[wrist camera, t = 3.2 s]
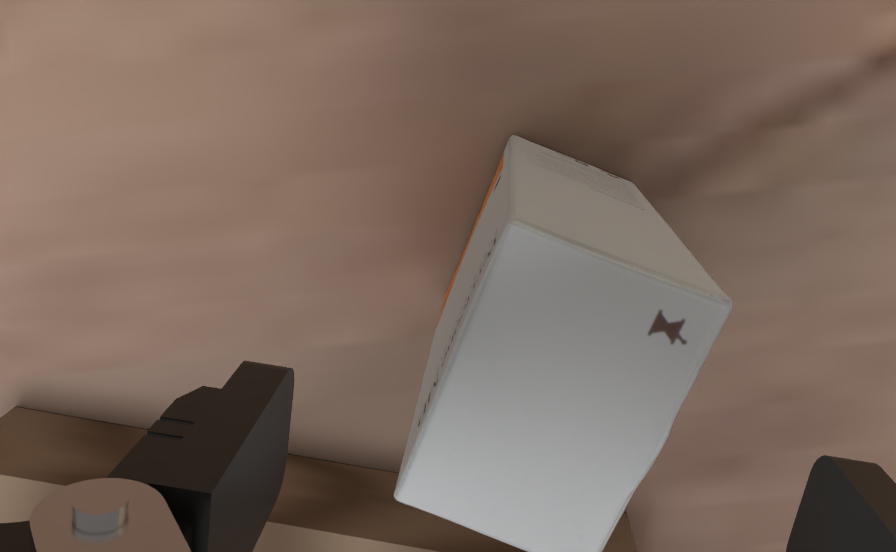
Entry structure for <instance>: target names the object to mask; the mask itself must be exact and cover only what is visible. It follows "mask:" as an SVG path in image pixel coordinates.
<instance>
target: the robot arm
mask: <svg viewBox="0 0 896 552" xmlns="http://www.w3.org/2000/svg"><path fill="white" fill-rule="evenodd" d="M293 390H294V371H293V369H292V368H287V367H281V366H275V365H269V364H263V363H256V362H250V361H243V362H242V364H241V365H240V366H239V367H238V369H237V370H236V371H235V372H234V374H233V375H232V376H231V378H230V379H229V380H228V381H227V383H226V384H225V385H224V386H223V388H222V389H219V388H212V387H206V386H202V387H200V388H198V389H196V390H194V391H192V392H190V393H188V394H185V395H183V396H181V397H179V398H177V399H176V400H175V401H174V402H173V403H172V404H171V405H170V406H169V408H168V409H167V410H166V411H165V412H164V413H163V414H162V415H161V417H160V420H157V421H156V422H155V423H154V424H153V425H152V427H151V428H150V429H149V430H148V431H147V435H144V436H143V437H142V438H141V439H140V440H139V441H138V442H137V443H136V445H135V446H134V447H133V448H132V449H131V450H130V451H129V452H128V454H127V455H126V456H125V457H124V458H123V459H122V460H121V461H120V463H119V464H118V465H117V466H116V467H115V468H114V469H113V470H112V472H111V473H110V474H109V475H108V476H107V477H106V478H98V479H91V480H85V481H81V482H77V483H73V484H70V485H67V486H65V487H62V488H60V489H58V490H56V491H54V492H52V493H51V494H49V495H47V496H46V497H45V498H44V499H42V500H41V501H40V502H39V503H38V504H37V505H36V507H35V508H34V510H33V512H32V513H31V517H30V520H29V521H22V522H12V523H0V552H252V551H253V549H254V547H255V545H256V543H257V541H258V539H259V537H260V535H261V533H262V530H263V528H264V526H265V524H266V522H267V520H268V518H269V516H270V514H271V512H272V509H273V507H274V505H275V503H276V501H277V498H278V496H279V493H280V489H281V486H282V482H283V477H284V472H285V467H286V460H287V450H288V440H289V430H290V420H291V410H292V400H293ZM786 552H896V484H895V483H894V481H893V480H892V479H891V478H890V477H889V476H888V475H887V474H886V472H885V471H884V470H883V469H882V468H881V467H880V466H879V465H877V464H875V463H869V462H863V461H857V460H850V459H844V458H838V457H832V456H826V455H825V456H821V457H820V458H818V459H817V460H816V462H815V463H814V465H813V467H812V469H811V472H810V475H809V478H808V481H807V484H806V488H805V491H804V494H803V497H802V500H801V503H800V506H799V509H798V512H797V516H796V519H795V522H794V525H793V528H792V531H791V534H790V537H789V541H788V544H787V549H786Z"/></svg>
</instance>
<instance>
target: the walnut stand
mask: <svg viewBox="0 0 896 552" xmlns="http://www.w3.org/2000/svg"><path fill="white" fill-rule="evenodd" d="M147 431H148V430H146V429H140V428H134V427H128V426H123V425H117V424H111V423H105V422H100V421H94V420H88V419H82V418H77V417H71V416H65V415H59V414H54V413H48V412H42V411H36V410H31V409H25V408H19V407H15V408H13V409H12V410H10V411H9V412H8V413H6V414H5V415H4V416H2V417H1V418H0V523H12V522H22V521H29V520H30V517H31V513H32V512H33V510H34V508H35V507H36V505H37V504H38V503H39V502H40V501H41V500H42V499H44V498H45V497H46V496H47V495H49V494H51V493H52V492H54V491H56V490H58V489H60V488H62V487H65V486H67V485H70V484H73V483H77V482H81V481H85V480H91V479H98V478H106V477H107V476H108V475H109V474H110V473H111V472H112V470H113V469H114V468H115V467H116V466H117V465H118V464H119V463H120V461H121V460H122V459H123V458H124V457H125V456H126V455H127V454H128V452H129V451H130V450H131V449H132V448H133V447H134V446H135V445H136V443H137V442H138V441H139V440H140V439H141V438H142V437H143V436H144V435H147ZM398 476H399V474H398V473H393V472H387V471H381V470H375V469H370V468H364V467H358V466H352V465H347V464H341V463H335V462H329V461H324V460H318V459H312V458H306V457H301V456H295V455H289V454H287V460H286V467H285V472H284V477H283V482H282V486H281V489H280V493H279V496H278V498H277V501H276V503H275V505H274V507H273V509H272V512H271V514H270V516H269V518H268V520H267V522H266V524H265V526H264V528H263V530H262V533H261V535H260V537H259V539H258V541H257V543H256V545H255V547H254V549H253V551H252V552H527V551H525V550H522V549H519V548H517V547H514V546H512V545H509V544H507V543H504V542H502V541H499V540H497V539H494V538H492V537H489V536H487V535H484V534H482V533H479V532H477V531H474V530H472V529H470V528H467V527H465V526H462V525H460V524H457V523H455V522H452V521H450V520H447V519H445V518H442V517H439V516H437V515H434V514H431V513H429V512H426V511H423V510H421V509H418V508H416V507H413V506H410V505H407V504H404V503H401V502H399V501H397V500H396V499H395V497H394V491H395V488H396V484H397V480H398ZM602 552H637V551H636V547H635V543H634V539H633V535H632V532H631V528H630V524H629V520H628V516H627V513H623V514H622V516H621V517H620V519H619V521H618V523H617V525H616V527H615V528H614V530H613V532H612V534H611V536H610V538H609V540H608V541H607V543H606V545H605V547H604V549H603V551H602Z"/></svg>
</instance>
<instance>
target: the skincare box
mask: <svg viewBox="0 0 896 552" xmlns="http://www.w3.org/2000/svg"><path fill="white" fill-rule="evenodd" d="M731 310H732V301H731V299H730V298H729V297H728V296H727V295H726V294H725V293H724V291H723V290H722V289H721V288H720V287H719V286H718V284H717V283H716V282H715V281H714V280H713V279H712V278H711V277H710V276H709V274H708V273H707V272H706V270H705V269H704V268H703V267H702V266H701V264H700V263H699V262H698V261H697V259H696V258H695V257H694V256H693V254H692V253H691V252H690V251H689V250H688V249H687V247H686V246H685V245H684V243H683V242H682V241H681V240H680V239H679V238H678V236H677V235H676V234H675V233H674V231H673V230H672V229H671V228H670V226H668V224H667V223H666V222H665V221H664V219H663V218H662V217H661V216H660V215H659V214H658V212H657V211H656V210H655V209H654V208H653V206H652V205H651V204H650V203H649V201H648V200H647V199H646V198H645V197H644V195H643V194H642V193H641V192H640V191H639V189H638V188H637V187H636V186H635V185H634V184H633V183H632V182H630V181H628V180H625V179H623V178H620V177H618V176H615V175H613V174H610V173H608V172H606V171H603V170H601V169H599V168H596V167H594V166H592V165H589V164H587V163H584V162H582V161H579V160H577V159H574V158H571V157H569V156H566V155H563V154H561V153H558V152H556V151H553V150H551V149H548V148H545V147H543V146H540V145H538V144H535V143H533V142H530V141H528V140H526V139H523V138H521V137H519V136H516V135H512V136H511V137H510V138H509V140H508V142H507V145H506V147H505V150H504V153H503V156H502V158H501V161H500V163H499V166H498V168H497V171H496V173H495V176H494V178H493V181H492V183H491V186H490V188H489V191H488V193H487V195H486V198H485V200H484V203H483V205H482V208H481V210H480V213H479V215H478V218H477V220H476V223H475V225H474V228H473V230H472V233H471V235H470V238H469V240H468V243H467V245H466V248H465V250H464V252H463V255H462V257H461V260H460V262H459V265H458V267H457V269H456V272H455V274H454V276H453V278H452V281H451V283H450V285H449V287H448V290H447V292H446V294H445V297H444V300H443V304H442V308H441V311H440V315H439V319H438V323H437V327H436V331H435V334H434V338H433V342H432V346H431V350H430V354H429V358H428V362H427V366H426V369H425V373H424V377H423V381H422V385H421V389H420V393H419V397H418V401H417V405H416V408H415V412H414V416H413V420H412V424H411V428H410V432H409V436H408V440H407V444H406V448H405V452H404V456H403V460H402V464H401V467H400V472H399V476H398V480H397V484H396V488H395V491H394V497H395V499H396V500H397V501H399V502H401V503H404V504H407V505H410V506H413V507H416V508H418V509H421V510H423V511H426V512H429V513H431V514H434V515H437V516H439V517H442V518H445V519H447V520H450V521H452V522H455V523H457V524H460V525H462V526H465V527H467V528H470V529H472V530H474V531H477V532H479V533H482V534H484V535H487V536H489V537H492V538H494V539H497V540H499V541H502V542H504V543H507V544H509V545H512V546H514V547H517V548H519V549H522V550H525V551H527V552H602V551H603V549H604V547H605V545H606V543H607V541H608V540H609V538H610V536H611V534H612V532H613V530H614V528H615V527H616V525H617V523H618V521H619V519H620V517H621V516H622V514H623V512H624V510H625V508H626V506H627V504H628V502H629V501H630V499H631V497H632V495H633V493H634V491H635V490H636V488H637V487H638V485H639V484H640V482H641V481H642V479H643V478H644V477H645V475H646V474H647V473H648V471H649V469H650V468H651V466H652V465H653V463H654V461H655V460H656V458H657V456H658V455H659V453H660V451H661V449H662V447H663V446H664V444H665V442H666V440H667V438H668V436H669V433H670V430H671V427H672V424H673V422H674V420H675V418H676V416H677V414H678V412H679V410H680V407H681V406H682V404H683V402H684V400H685V398H686V396H687V394H688V393H689V391H690V389H691V387H692V385H693V383H694V381H695V379H696V377H697V375H698V373H699V371H700V369H701V367H702V365H703V363H704V361H705V360H706V358H707V356H708V354H709V352H710V350H711V348H712V347H713V345H714V343H715V341H716V339H717V337H718V335H719V333H720V331H721V329H722V328H723V326H724V324H725V322H726V320H727V318H728V316H729V314H730V312H731Z"/></svg>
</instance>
